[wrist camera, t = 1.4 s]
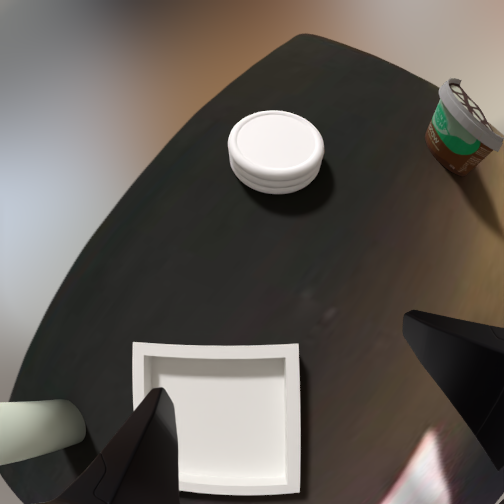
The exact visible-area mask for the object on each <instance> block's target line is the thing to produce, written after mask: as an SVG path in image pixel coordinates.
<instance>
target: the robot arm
mask: <svg viewBox="0 0 504 504" xmlns="http://www.w3.org/2000/svg"><path fill="white" fill-rule="evenodd" d="M403 335H404V337H405V339H406V340H407V342H408V343H409V345H410V347H411V348H412V350H413V351H414V353H415V354H416V356H417V358H418V359H419V361H420V362H421V364H422V365H423V366H424V368H425V369H426V370H427V372H428V373H429V374H430V375H431V377H432V378H433V379H434V380H435V382H436V383H437V384H438V386H439V387H440V388H441V390H442V391H443V392H444V393H445V395H446V396H447V397H448V399H449V400H450V401H451V403H452V404H453V406H454V407H455V408H456V410H457V411H458V412H459V414H460V415H461V416H462V418H463V419H464V421H465V422H466V423H467V425H468V426H469V428H470V429H471V431H472V432H473V434H474V435H475V436H476V438H477V440H478V441H479V443H480V444H481V446H482V447H483V449H484V450H485V452H486V453H487V455H488V456H489V458H490V459H491V461H492V462H493V464H494V466H495V467H496V469H497V470H498V471H500V470H501V469H502V468H503V467H504V328H500V327H495V326H489V325H485V324H480V323H475V322H470V321H465V320H460V319H455V318H450V317H446V316H441V315H436V314H431V313H427V312H422V311H418V310H411V311H409V312H407V313H405V314H404V319H403ZM36 504H180V501H179V467H178V436H177V427H176V418H175V408H174V404H173V402H172V400H171V398H170V397H169V395H168V393H167V392H166V390H165V389H164V388H163V387H158V388H153V389H151V390H150V392H149V393H148V394H147V395H146V397H145V398H144V399H143V400H142V402H141V403H140V404H139V405H138V407H137V408H136V409H135V410H134V412H133V413H132V414H131V415H130V417H129V418H128V419H127V420H126V421H125V423H124V424H123V425H122V426H121V428H120V429H119V430H118V431H117V433H116V434H115V435H114V436H113V438H112V439H111V440H110V441H109V442H108V444H107V445H106V446H105V447H104V449H103V450H102V451H101V453H99V455H98V456H97V457H96V458H95V460H94V461H93V462H92V463H91V464H90V465H89V466H88V468H87V469H86V470H85V471H84V472H83V473H82V474H81V475H80V476H79V477H78V478H77V479H76V480H75V481H74V482H73V483H72V484H71V485H70V486H69V487H68V488H67V489H65V490H64V491H63V492H62V493H61V494H60V495H59V496H58V497H56V498H55V499H53V500H51V501H48V502H44V503H36ZM499 504H504V499H503V500H502V501H501V502H500V503H499Z"/></svg>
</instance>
